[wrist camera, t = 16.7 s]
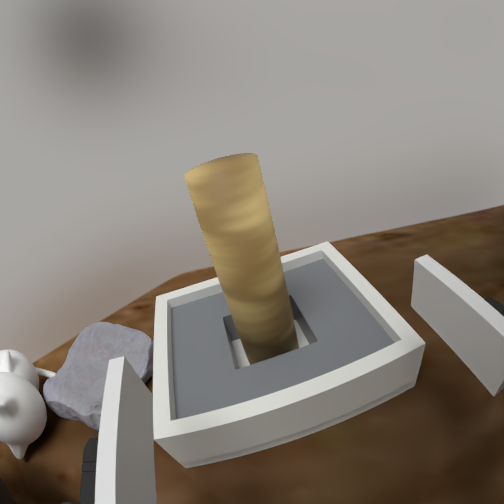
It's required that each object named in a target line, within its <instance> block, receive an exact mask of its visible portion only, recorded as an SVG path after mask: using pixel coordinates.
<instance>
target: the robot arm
mask: <svg viewBox="0 0 504 504" xmlns="http://www.w3.org/2000/svg"><path fill="white" fill-rule="evenodd" d="M411 307H412V308H413V309H414V310H415V311H416V312H417V313H418V314H419V315H420V316H421V317H422V318H423V319H424V320H425V321H426V322H427V323H428V324H429V325H430V326H431V327H432V328H433V329H434V331H435V332H436V333H437V334H438V335H439V336H440V337H441V338H442V339H443V340H444V341H445V342H446V343H447V344H448V345H449V347H450V348H451V349H452V350H453V351H454V352H455V353H456V354H457V355H458V356H459V358H460V359H461V360H462V361H463V362H464V363H465V364H466V365H467V366H468V368H469V369H470V370H471V371H472V372H473V373H474V374H475V376H476V377H477V378H478V379H479V380H480V381H481V383H482V384H483V385H484V386H485V387H486V388H487V390H488V391H489V392H490V393H491V394H492V396H493V397H494V396H495V395H497V394H498V393H499V392H500V391H501V390H503V389H504V306H503V305H502V304H501V303H499V302H498V301H496V300H494V299H491V298H489V297H487V298H485V299H483V298H482V297H480V296H479V295H478V294H477V293H476V292H474V291H473V290H472V289H471V288H469V287H468V286H467V285H466V284H464V283H463V282H462V281H461V280H459V279H458V278H457V277H456V276H454V275H453V274H452V273H451V272H449V271H448V270H447V269H445V268H444V267H443V266H441V265H440V264H439V263H438V262H436V261H435V260H434V259H432V258H431V257H430V256H428V255H424V256H422V257H420V258H417V259H415V263H414V277H413V289H412V299H411ZM61 504H72V503H70V502H63V503H61ZM80 504H157V497H156V485H155V469H154V448H153V394H152V393H151V392H150V391H149V389H148V388H147V387H146V385H145V384H144V383H143V381H142V380H141V379H140V377H139V376H138V374H137V373H136V372H135V370H134V369H133V368H132V366H131V365H130V363H129V362H128V360H127V359H126V358H125V356H123V357H119V358H115V359H111V360H109V364H108V370H107V376H106V382H105V389H104V396H103V403H102V411H101V419H100V428H99V438H90V439H89V440H88V442H87V444H86V446H85V448H84V452H83V464H82V474H81V488H80Z"/></svg>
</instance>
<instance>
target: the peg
mask: <svg viewBox="0 0 504 504" xmlns="http://www.w3.org/2000/svg"><path fill="white" fill-rule="evenodd" d="M184 177H185V180H186V183H187V186H188V189H189V193H190V196H191V199H192V202H193V205H194V208H195V211H196V214H197V217H198V221H199V223H200V227H201V230H202V233H203V236H204V238H205V242H206V245H207V248H208V250H209V253H210V256H211V259H212V262H213V265H214V268H215V271H216V274H217V277H218V280H219V282H220V285H221V288H222V291H223V294H224V297H225V299H226V302H227V305H228V308H229V310H230V313H231V316H232V319H233V321H234V324H235V327H236V330H237V332H238V335H239V338H240V340H241V343H242V346H243V348H244V351H245V354H246V356H247V359H248V362H249V364H250V365H252V364H255V363H258V362H261V361H264V360H267V359H270V358H273V357H276V356H279V355H282V354H285V353H287V352H290V351H293V350H296V349H299V345H298V340H297V335H296V330H295V325H294V320H293V315H292V310H291V305H290V300H289V295H288V290H287V286H286V281H285V276H284V271H283V267H282V262H281V257H280V253H279V248H278V244H277V239H276V235H275V230H274V226H273V221H272V217H271V212H270V208H269V203H268V199H267V195H266V191H265V186H264V182H263V177H262V173H261V169H260V165H259V160H258V156H257V155H256V154H253V153H244V154H236V155H230V156H225V157H222V158H218V159H214V160H211V161H208V162H206V163H203V164H200V165H198V166H196V167H194V168H192V169H190V170H189V171H188V172H186V173H185V175H184Z"/></svg>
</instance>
